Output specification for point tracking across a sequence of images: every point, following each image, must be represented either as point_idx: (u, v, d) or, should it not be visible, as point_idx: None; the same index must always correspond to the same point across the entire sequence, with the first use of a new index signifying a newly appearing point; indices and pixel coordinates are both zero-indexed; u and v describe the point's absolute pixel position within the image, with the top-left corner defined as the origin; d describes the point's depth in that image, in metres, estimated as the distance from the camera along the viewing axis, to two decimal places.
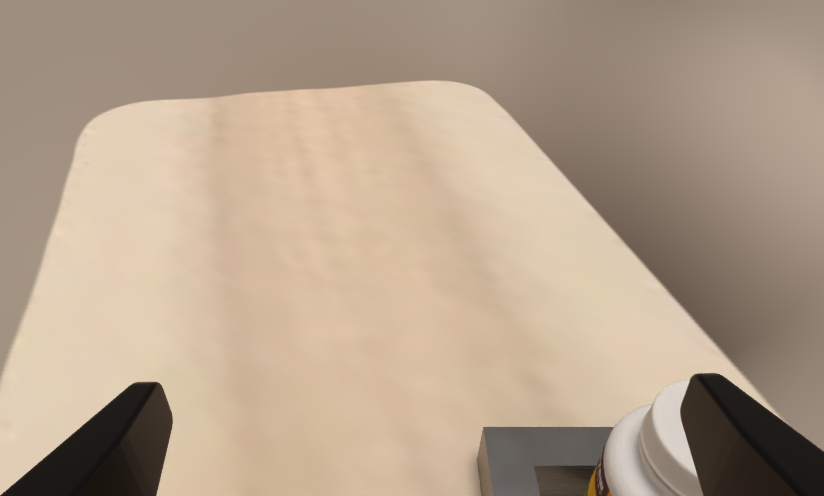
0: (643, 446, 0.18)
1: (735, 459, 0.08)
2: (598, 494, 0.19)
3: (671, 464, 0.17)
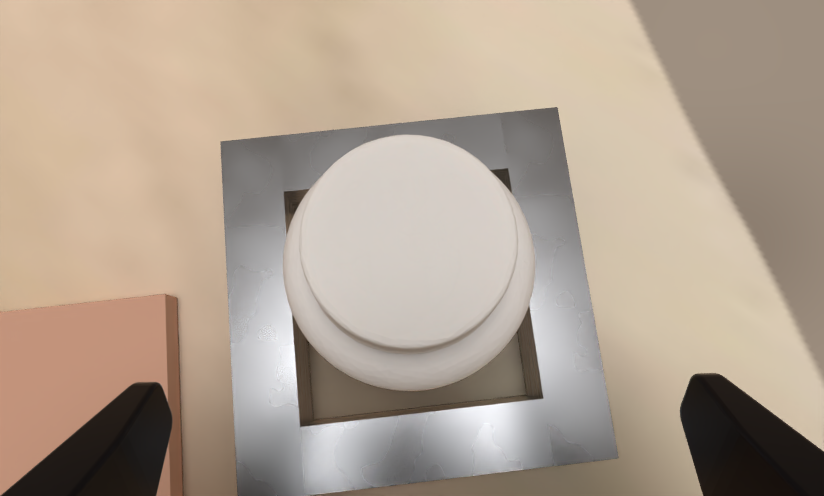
0: None
1: (735, 459, 0.08)
2: None
3: (315, 298, 0.10)
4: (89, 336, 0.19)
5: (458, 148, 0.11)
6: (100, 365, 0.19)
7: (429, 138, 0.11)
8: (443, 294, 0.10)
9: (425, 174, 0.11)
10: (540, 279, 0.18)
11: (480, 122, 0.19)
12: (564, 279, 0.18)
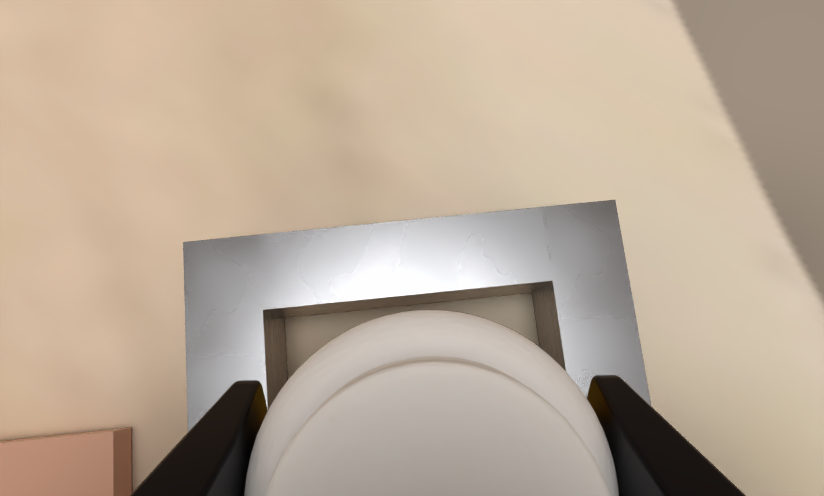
0: None
1: (621, 461, 0.08)
2: None
3: None
4: (16, 486, 0.15)
5: (520, 388, 0.07)
6: None
7: (472, 372, 0.07)
8: None
9: (466, 436, 0.06)
10: None
11: (516, 219, 0.15)
12: None
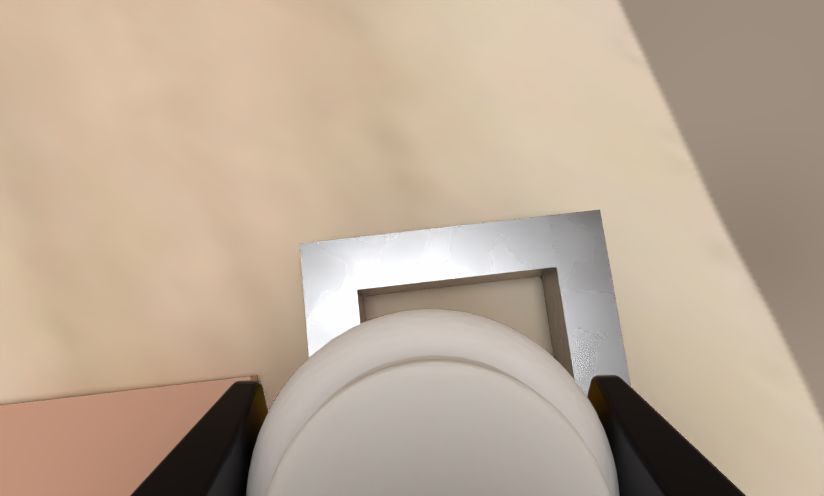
0: None
1: (621, 461, 0.08)
2: None
3: None
4: (185, 414, 0.22)
5: (520, 388, 0.07)
6: None
7: (473, 371, 0.07)
8: None
9: (467, 435, 0.06)
10: (585, 368, 0.20)
11: (531, 224, 0.21)
12: (607, 369, 0.20)
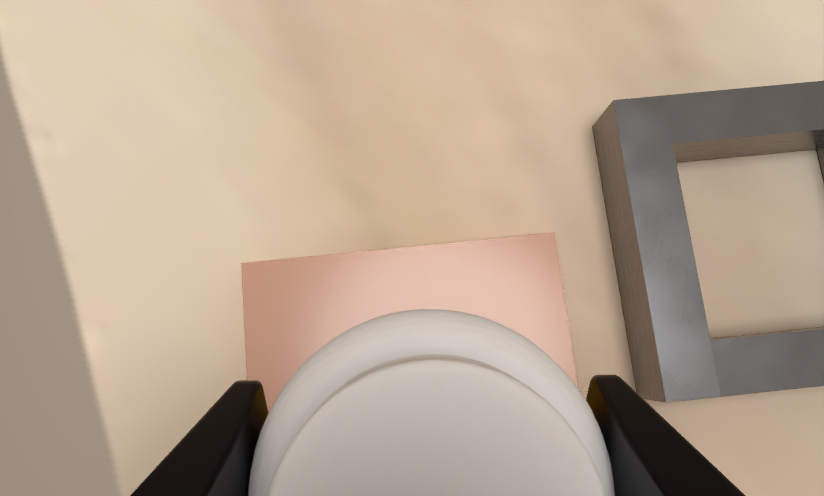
0: None
1: (620, 461, 0.08)
2: None
3: None
4: (494, 267, 0.22)
5: (517, 385, 0.07)
6: (507, 291, 0.22)
7: (471, 369, 0.07)
8: None
9: (464, 432, 0.07)
10: None
11: None
12: None
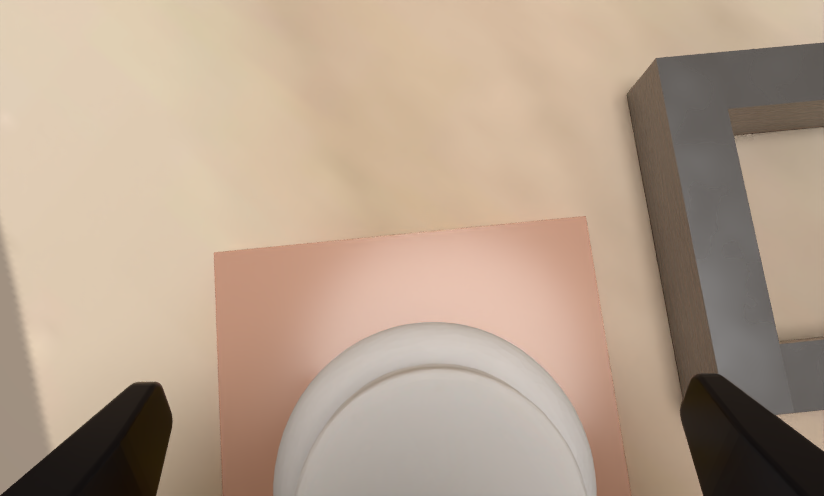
0: None
1: (735, 459, 0.08)
2: None
3: None
4: (514, 257, 0.19)
5: (507, 390, 0.08)
6: (529, 286, 0.18)
7: (468, 377, 0.08)
8: None
9: (463, 430, 0.08)
10: None
11: None
12: None
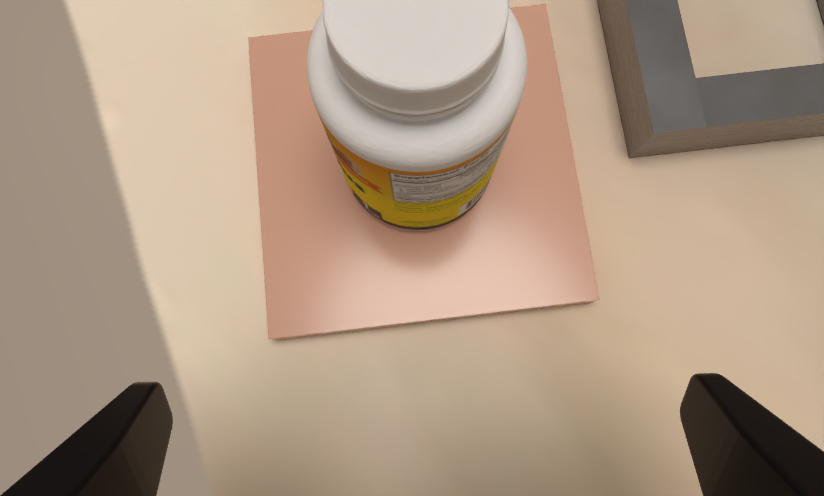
0: None
1: (735, 459, 0.08)
2: None
3: (337, 58, 0.12)
4: None
5: None
6: None
7: None
8: (445, 46, 0.12)
9: None
10: None
11: None
12: None
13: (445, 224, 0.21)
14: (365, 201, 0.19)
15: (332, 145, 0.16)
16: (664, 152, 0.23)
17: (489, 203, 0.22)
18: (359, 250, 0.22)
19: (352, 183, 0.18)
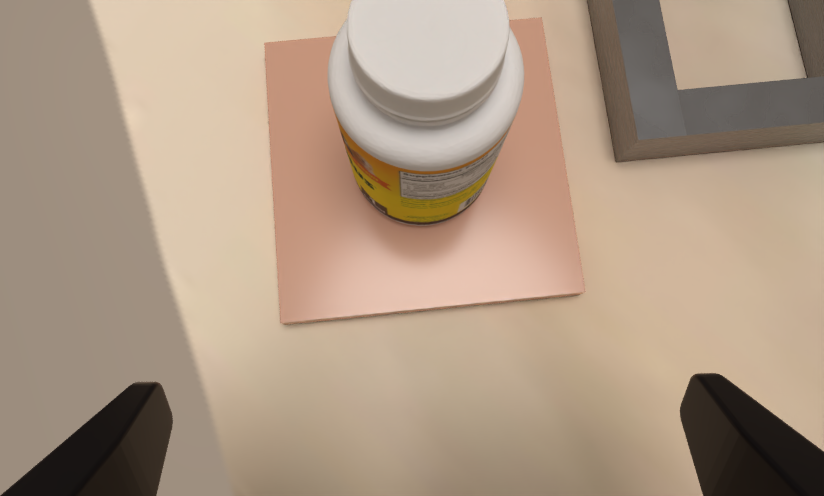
0: None
1: (735, 459, 0.08)
2: None
3: (358, 70, 0.14)
4: None
5: None
6: None
7: None
8: (453, 62, 0.14)
9: None
10: None
11: None
12: None
13: (445, 220, 0.23)
14: (373, 197, 0.21)
15: (346, 145, 0.18)
16: (649, 158, 0.25)
17: (486, 201, 0.24)
18: (365, 243, 0.23)
19: (362, 180, 0.20)
